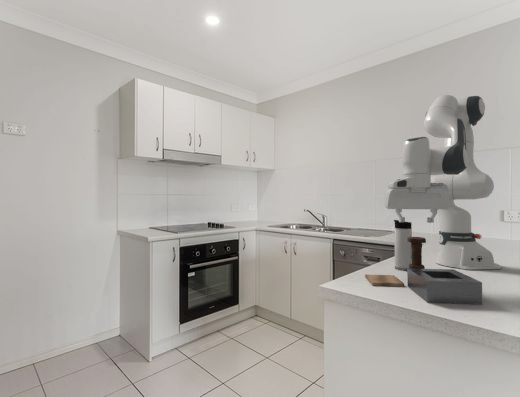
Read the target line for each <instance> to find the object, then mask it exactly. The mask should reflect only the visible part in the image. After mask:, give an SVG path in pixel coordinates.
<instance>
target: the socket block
mask: <svg viewBox="0 0 520 397" xmlns="http://www.w3.org/2000/svg"><path fill="white" fill-rule="evenodd" d="M406 272H407V287H408V289H410V290H411V291H412V292H413V293H415V294H416V295H418V296H419V297H420V298H421V299H422V300H423V301H425V302H426V303H432V304H433V303H435V304H437V303H438V304H460V305H483V282H482V281H480V280H478V279H475V278H473V277H471V276H469V275H468V274H465V273H463V272H460V271H458V270H456V269H455V268H453V269H449V268H447V269H445V268H425V269H413V268H407V271H406Z"/></svg>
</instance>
